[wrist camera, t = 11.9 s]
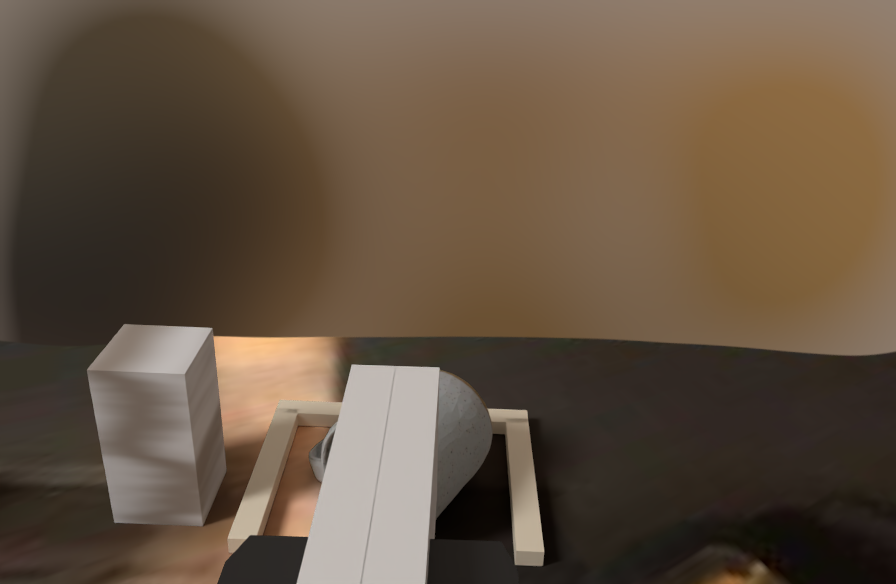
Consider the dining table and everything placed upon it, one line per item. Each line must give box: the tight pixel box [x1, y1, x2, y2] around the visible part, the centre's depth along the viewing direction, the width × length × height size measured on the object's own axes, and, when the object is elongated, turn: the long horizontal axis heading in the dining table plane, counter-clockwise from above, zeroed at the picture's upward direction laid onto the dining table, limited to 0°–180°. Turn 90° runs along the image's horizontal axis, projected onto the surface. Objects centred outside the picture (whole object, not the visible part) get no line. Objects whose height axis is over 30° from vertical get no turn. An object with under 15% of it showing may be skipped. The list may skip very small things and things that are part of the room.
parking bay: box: [228, 400, 544, 566], centre depth 50 cm, size 17×14×1 cm
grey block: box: [87, 324, 227, 526], centre depth 46 cm, size 5×5×10 cm
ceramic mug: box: [309, 370, 493, 519], centre depth 48 cm, size 11×8×8 cm
